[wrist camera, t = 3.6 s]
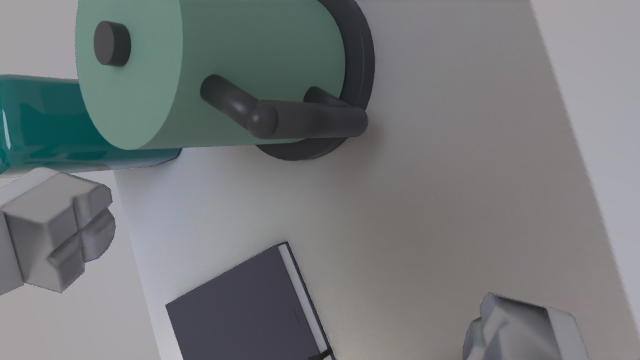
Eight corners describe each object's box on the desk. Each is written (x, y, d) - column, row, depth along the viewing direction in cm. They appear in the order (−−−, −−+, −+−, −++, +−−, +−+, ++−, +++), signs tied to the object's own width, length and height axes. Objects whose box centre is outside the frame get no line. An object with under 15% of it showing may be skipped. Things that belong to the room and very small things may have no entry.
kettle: (197, 89, 43) (25, 75, 31) (228, -37, 39) (40, -108, 27) (359, 200, 32) (189, 242, 21) (428, 43, 28) (260, -17, 16)
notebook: (287, 241, 40) (176, 301, 52) (275, 244, 38) (164, 305, 51) (342, 376, 37) (211, 405, 50) (332, 385, 36) (200, 412, 49)
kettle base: (316, -63, 34) (304, -69, 33) (410, 88, 31) (400, 87, 30) (220, 61, 43) (208, 59, 42) (284, 190, 39) (273, 192, 38)
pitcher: (135, 102, 54) (-111, 91, 37) (172, 81, 48) (-95, 57, 31) (149, 179, 53) (-92, 204, 36) (188, 166, 48) (-73, 189, 31)
